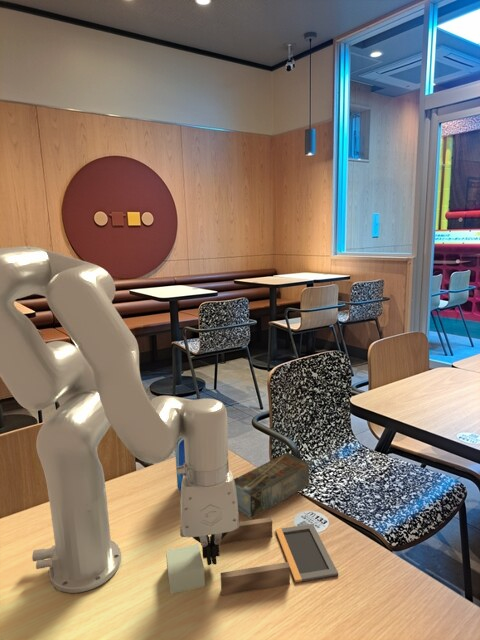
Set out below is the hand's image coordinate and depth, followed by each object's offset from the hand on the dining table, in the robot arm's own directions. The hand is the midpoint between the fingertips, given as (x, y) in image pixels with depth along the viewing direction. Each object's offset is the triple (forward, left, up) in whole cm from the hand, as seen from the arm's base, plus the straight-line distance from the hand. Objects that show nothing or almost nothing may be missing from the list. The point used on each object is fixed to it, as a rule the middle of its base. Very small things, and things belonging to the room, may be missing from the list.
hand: (211, 559), depth 80 cm
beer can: (-1, +25, -2) cm, 25 cm away
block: (-5, -1, -2) cm, 5 cm away
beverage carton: (+16, +19, -2) cm, 25 cm away
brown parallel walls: (+7, 0, -2) cm, 7 cm away
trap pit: (+18, 0, -2) cm, 18 cm away
